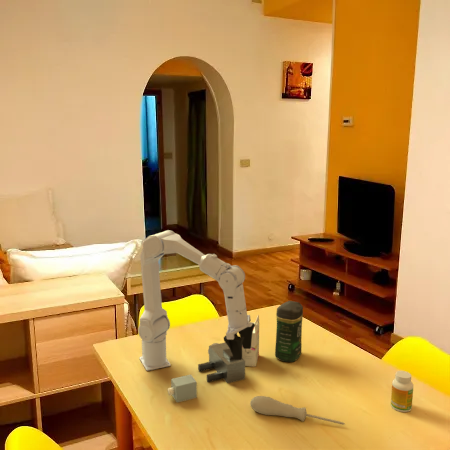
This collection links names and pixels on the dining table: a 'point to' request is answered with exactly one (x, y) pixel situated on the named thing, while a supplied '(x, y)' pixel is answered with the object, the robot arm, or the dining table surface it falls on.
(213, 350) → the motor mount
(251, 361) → the ink cartridge box
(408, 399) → the supplement bottle
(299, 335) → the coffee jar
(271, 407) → the screwdriver
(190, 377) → the grey block
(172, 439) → the dining table surface
